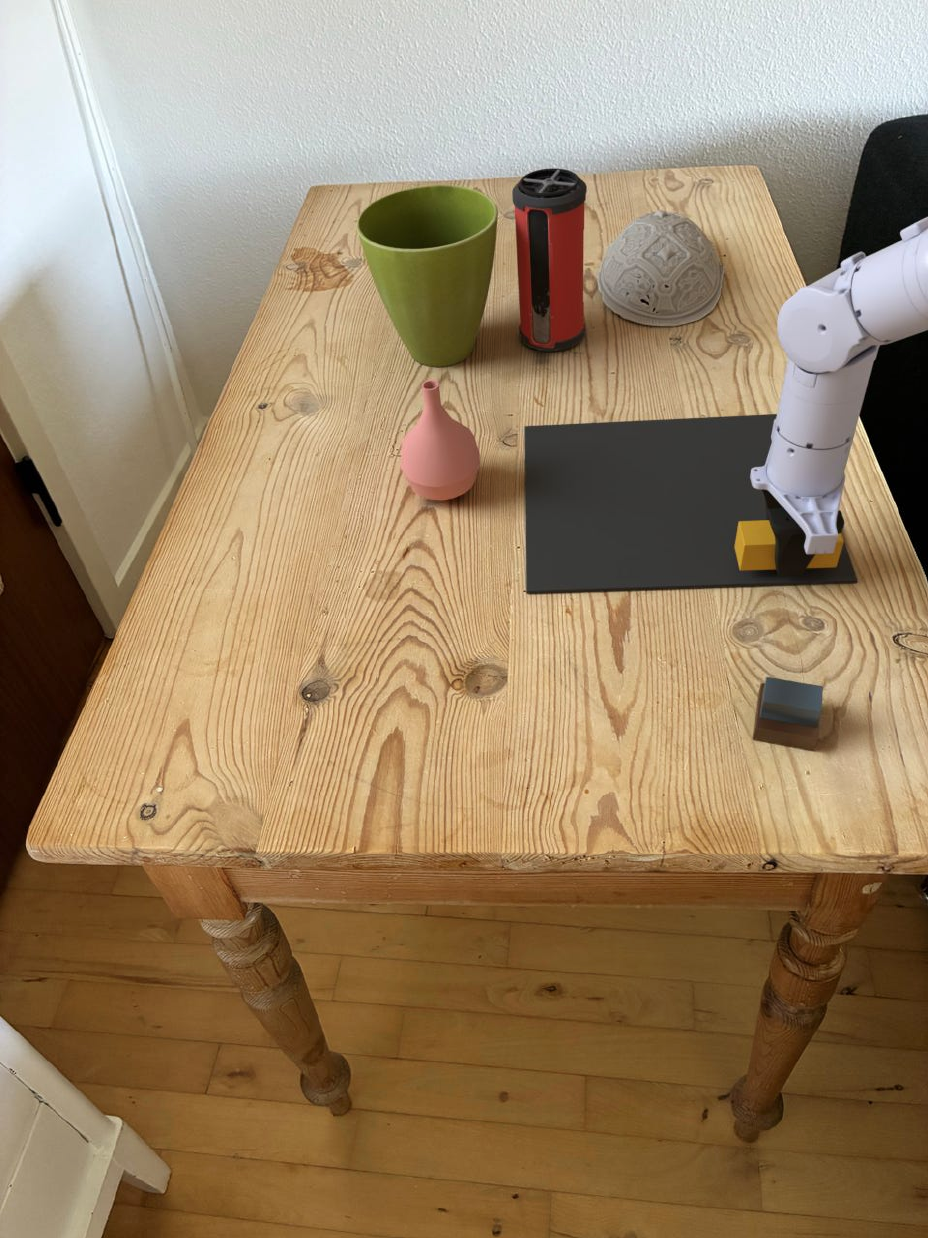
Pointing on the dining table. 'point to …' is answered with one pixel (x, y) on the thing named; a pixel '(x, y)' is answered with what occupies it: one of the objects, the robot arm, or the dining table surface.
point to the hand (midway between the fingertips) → (785, 557)
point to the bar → (771, 548)
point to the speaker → (550, 258)
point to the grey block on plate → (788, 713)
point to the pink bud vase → (439, 451)
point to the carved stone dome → (661, 271)
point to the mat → (648, 505)
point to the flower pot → (432, 266)
